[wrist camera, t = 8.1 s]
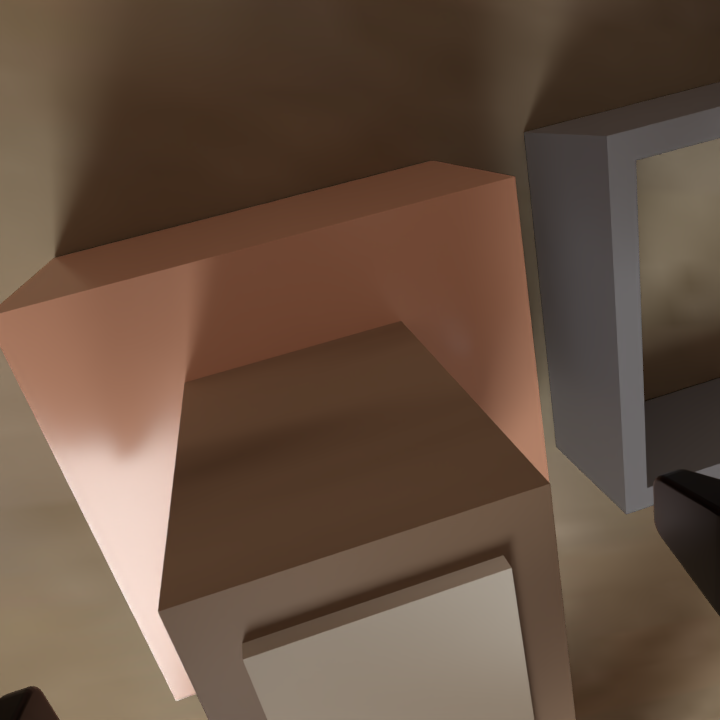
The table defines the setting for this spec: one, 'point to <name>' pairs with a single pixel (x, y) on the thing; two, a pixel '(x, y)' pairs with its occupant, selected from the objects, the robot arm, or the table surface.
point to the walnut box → (360, 545)
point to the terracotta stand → (262, 333)
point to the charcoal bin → (613, 296)
